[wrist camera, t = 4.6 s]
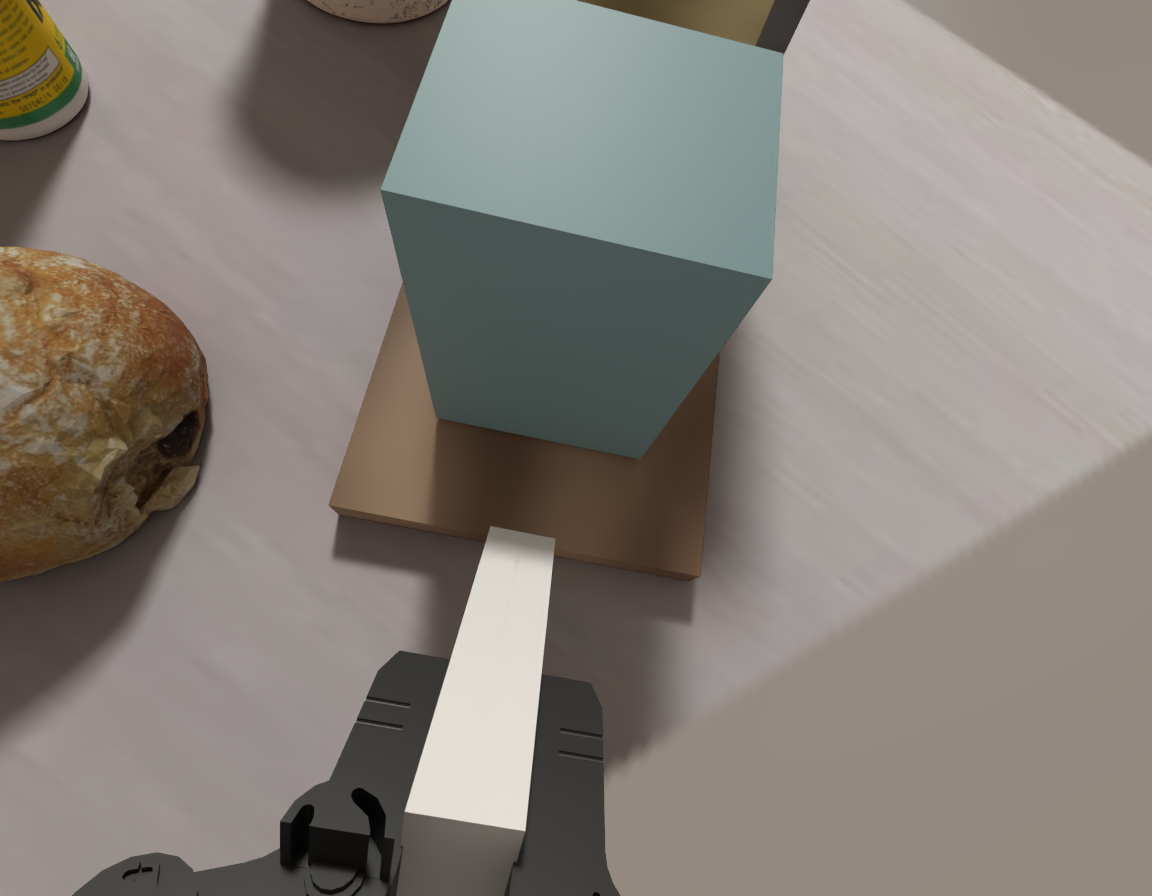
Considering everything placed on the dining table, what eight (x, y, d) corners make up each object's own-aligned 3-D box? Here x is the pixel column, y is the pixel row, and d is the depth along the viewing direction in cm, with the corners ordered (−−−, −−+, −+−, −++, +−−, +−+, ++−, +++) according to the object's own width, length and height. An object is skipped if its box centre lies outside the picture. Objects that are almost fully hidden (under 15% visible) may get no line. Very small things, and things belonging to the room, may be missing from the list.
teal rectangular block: (435, 417, 19) (380, 189, 10) (476, 271, 21) (462, -29, 12) (640, 459, 20) (772, 279, 10) (659, 312, 22) (783, 53, 12)
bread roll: (158, 609, 21) (146, 601, 14) (-287, 561, 16) (-613, 516, 9) (239, 366, 24) (259, 272, 18) (-104, 264, 19) (-249, 83, 13)
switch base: (338, 514, 19) (-36, 169, 6) (484, 62, 27) (475, -528, 14) (688, 581, 20) (1096, 418, 6) (731, 123, 28) (952, -378, 14)
